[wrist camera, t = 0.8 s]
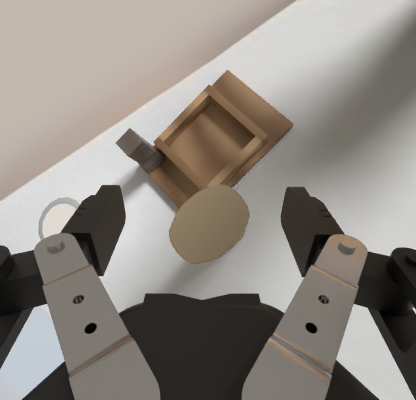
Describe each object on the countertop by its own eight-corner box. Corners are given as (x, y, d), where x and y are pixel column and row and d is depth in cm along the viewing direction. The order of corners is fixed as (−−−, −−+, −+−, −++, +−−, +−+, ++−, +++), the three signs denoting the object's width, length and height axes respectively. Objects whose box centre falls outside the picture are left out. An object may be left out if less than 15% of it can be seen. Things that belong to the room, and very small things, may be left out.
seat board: (228, 74, 37) (218, 31, 30) (292, 126, 34) (300, 94, 27) (140, 164, 38) (109, 146, 31) (195, 223, 35) (176, 219, 28)
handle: (263, 226, 33) (262, 218, 19) (226, 260, 34) (197, 277, 19) (238, 199, 35) (218, 172, 20) (202, 231, 35) (157, 228, 21)
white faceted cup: (92, 195, 39) (56, 187, 33) (127, 218, 38) (96, 214, 31) (68, 235, 39) (27, 235, 33) (102, 260, 38) (67, 265, 31)
